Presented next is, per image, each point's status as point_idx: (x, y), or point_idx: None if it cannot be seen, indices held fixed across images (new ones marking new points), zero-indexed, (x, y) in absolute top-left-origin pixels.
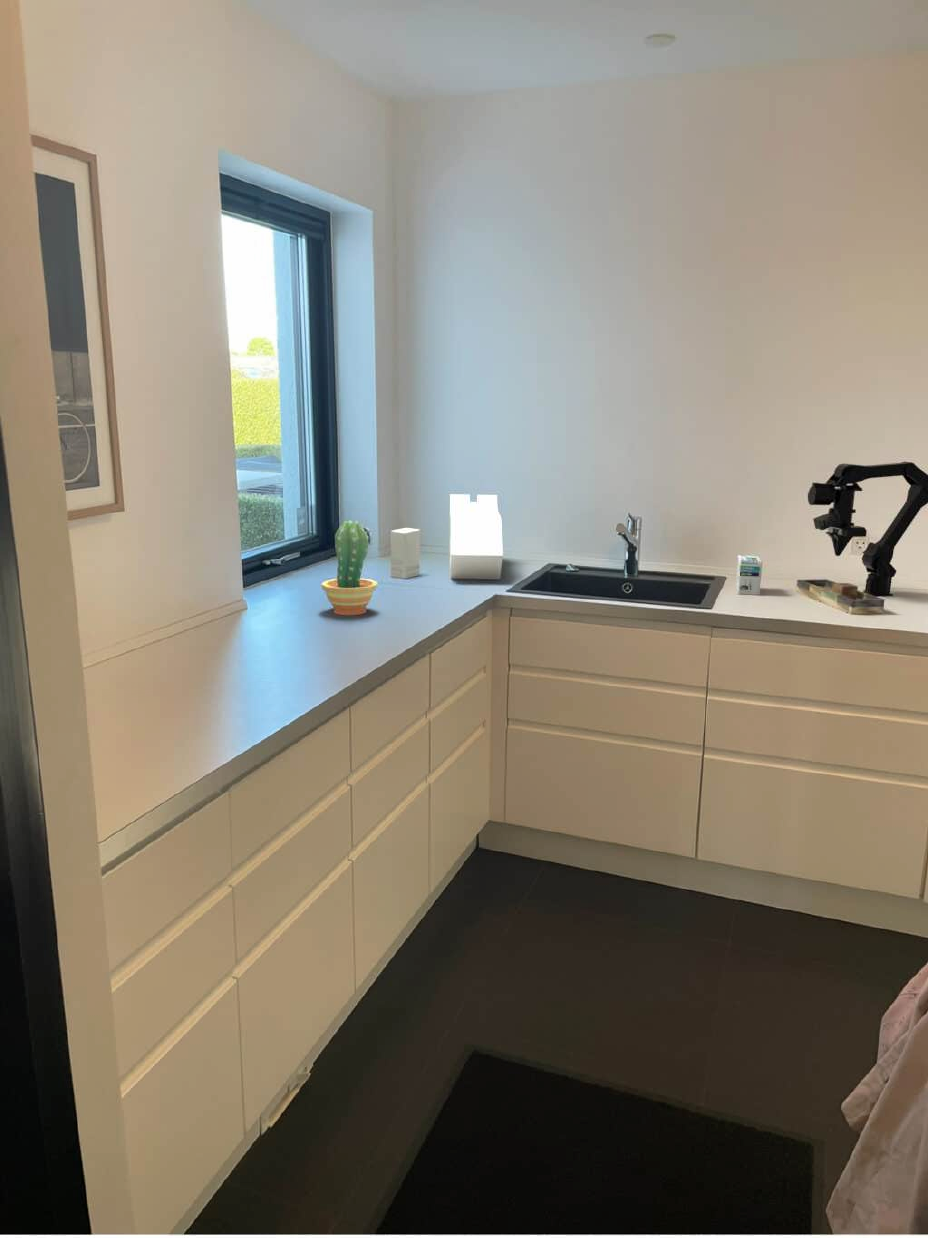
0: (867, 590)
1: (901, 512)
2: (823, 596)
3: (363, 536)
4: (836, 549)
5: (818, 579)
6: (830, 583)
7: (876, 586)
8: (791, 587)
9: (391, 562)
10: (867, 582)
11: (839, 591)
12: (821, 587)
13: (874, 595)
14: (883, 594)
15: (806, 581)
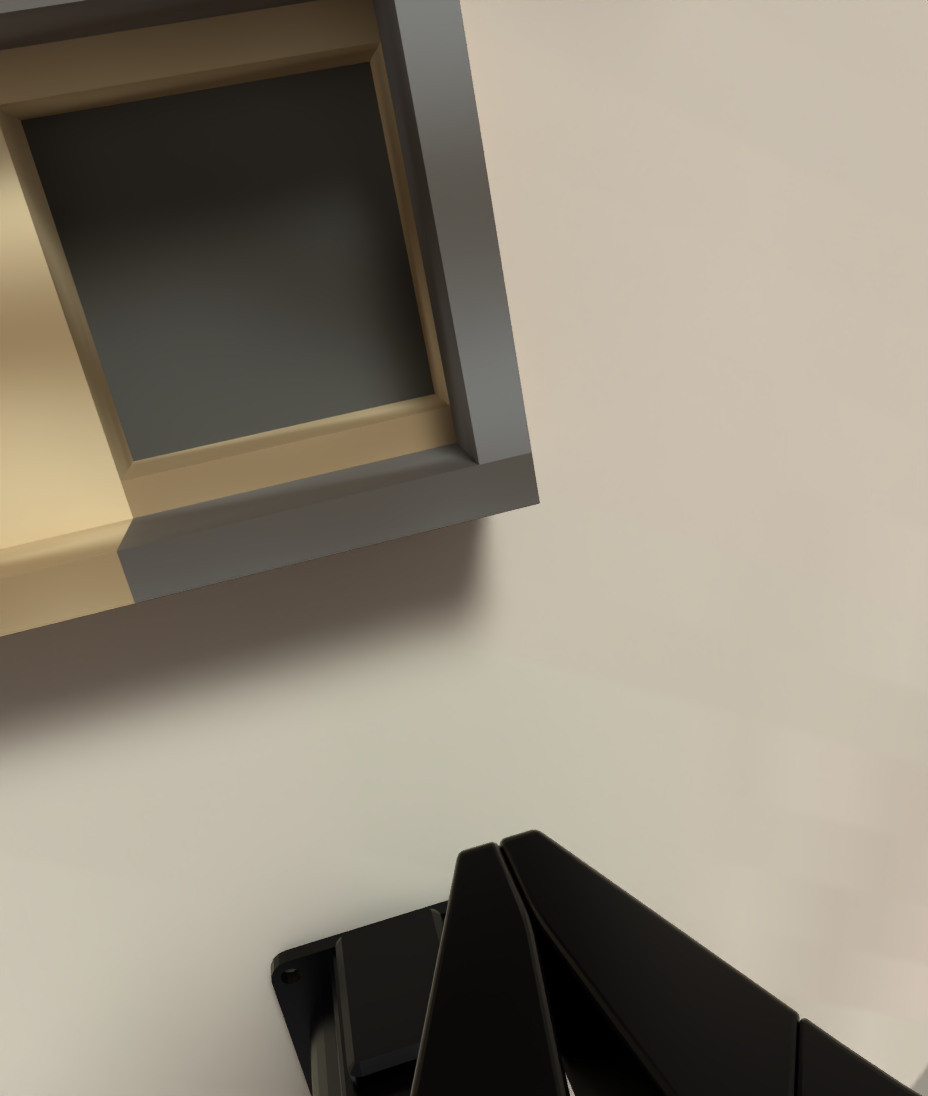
0: (386, 933)
1: None
2: None
3: None
4: (487, 981)
5: (513, 355)
6: (317, 496)
7: (333, 1057)
8: (771, 47)
9: None
10: (420, 1004)
11: None
12: (444, 389)
13: (276, 957)
14: (295, 1048)
15: (405, 78)
